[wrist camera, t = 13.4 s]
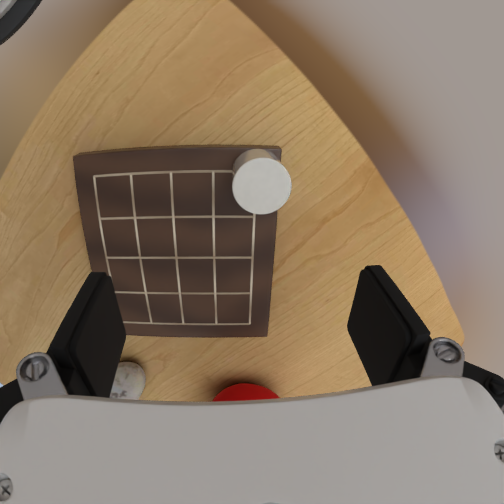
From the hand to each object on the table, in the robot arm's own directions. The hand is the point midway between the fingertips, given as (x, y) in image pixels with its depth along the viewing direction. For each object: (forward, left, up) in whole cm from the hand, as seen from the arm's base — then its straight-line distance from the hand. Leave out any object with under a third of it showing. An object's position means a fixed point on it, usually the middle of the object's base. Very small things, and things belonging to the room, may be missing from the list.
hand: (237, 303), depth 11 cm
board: (+7, -5, -18) cm, 20 cm away
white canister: (-1, +2, -16) cm, 16 cm away
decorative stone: (+28, -16, -18) cm, 37 cm away
